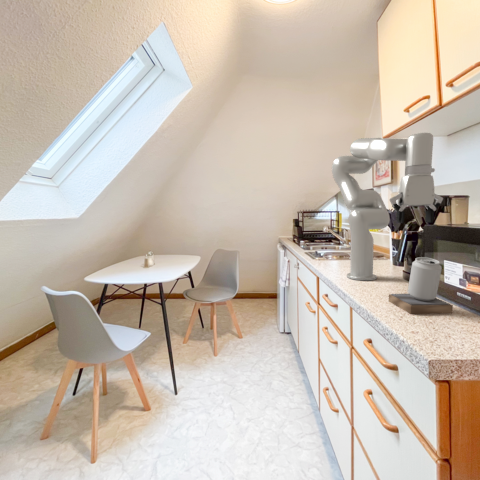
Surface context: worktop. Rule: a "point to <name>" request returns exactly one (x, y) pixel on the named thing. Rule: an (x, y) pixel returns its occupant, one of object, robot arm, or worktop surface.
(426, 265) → the can
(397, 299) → the plinth
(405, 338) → the worktop surface
